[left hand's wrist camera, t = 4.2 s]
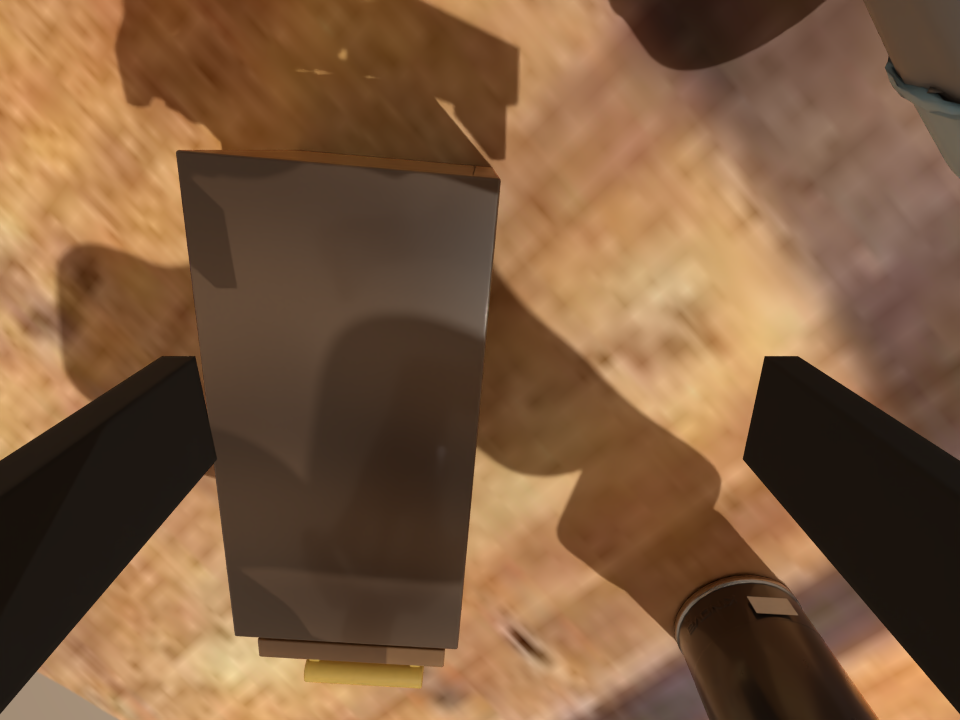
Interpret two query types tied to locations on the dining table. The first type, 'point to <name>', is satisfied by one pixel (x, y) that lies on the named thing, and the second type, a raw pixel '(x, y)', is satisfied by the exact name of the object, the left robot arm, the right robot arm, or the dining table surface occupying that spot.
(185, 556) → the dining table surface
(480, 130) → the dining table surface
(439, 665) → the drawer
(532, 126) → the dining table surface
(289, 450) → the cabinet
